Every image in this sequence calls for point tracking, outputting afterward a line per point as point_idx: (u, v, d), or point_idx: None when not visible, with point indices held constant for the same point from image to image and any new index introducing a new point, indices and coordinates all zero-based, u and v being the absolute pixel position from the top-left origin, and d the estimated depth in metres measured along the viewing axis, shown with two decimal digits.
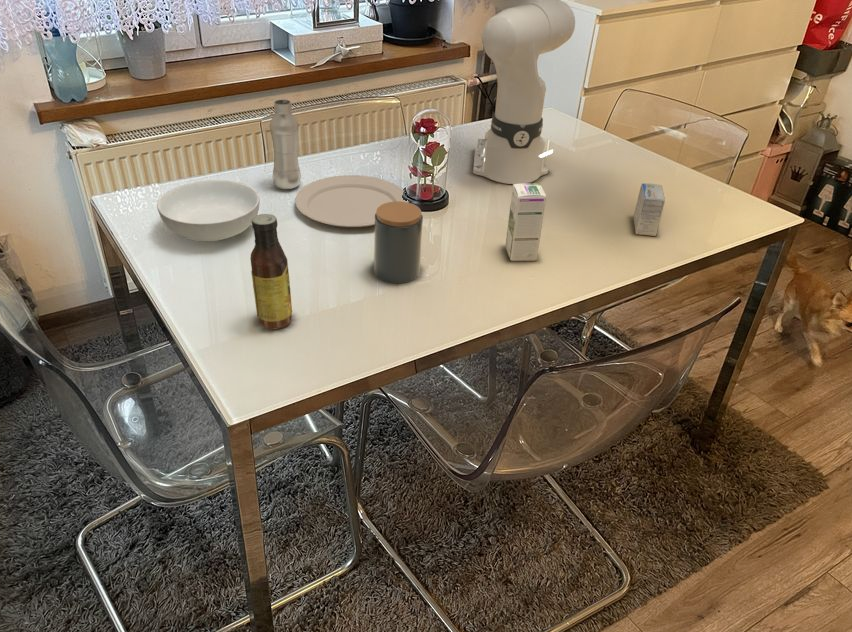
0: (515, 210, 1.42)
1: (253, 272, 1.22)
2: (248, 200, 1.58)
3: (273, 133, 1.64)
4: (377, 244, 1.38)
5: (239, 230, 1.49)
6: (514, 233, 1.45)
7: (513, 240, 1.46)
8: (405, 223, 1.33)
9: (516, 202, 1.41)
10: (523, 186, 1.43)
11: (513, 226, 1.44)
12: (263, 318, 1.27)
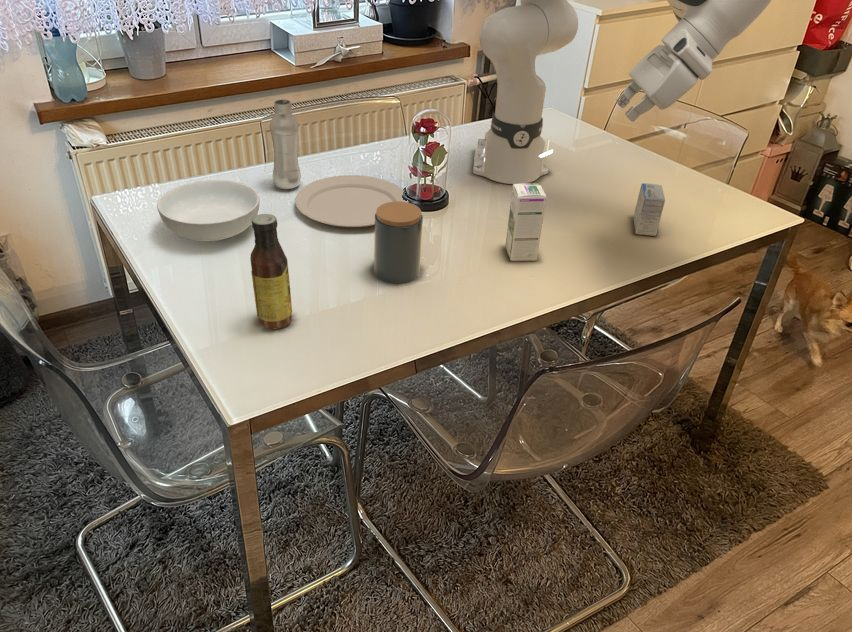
0: (515, 210, 1.42)
1: (253, 272, 1.22)
2: (248, 200, 1.58)
3: (273, 133, 1.64)
4: (377, 244, 1.38)
5: (239, 230, 1.49)
6: (514, 233, 1.45)
7: (513, 240, 1.46)
8: (405, 223, 1.33)
9: (516, 202, 1.41)
10: (523, 186, 1.43)
11: (513, 226, 1.44)
12: (263, 318, 1.27)
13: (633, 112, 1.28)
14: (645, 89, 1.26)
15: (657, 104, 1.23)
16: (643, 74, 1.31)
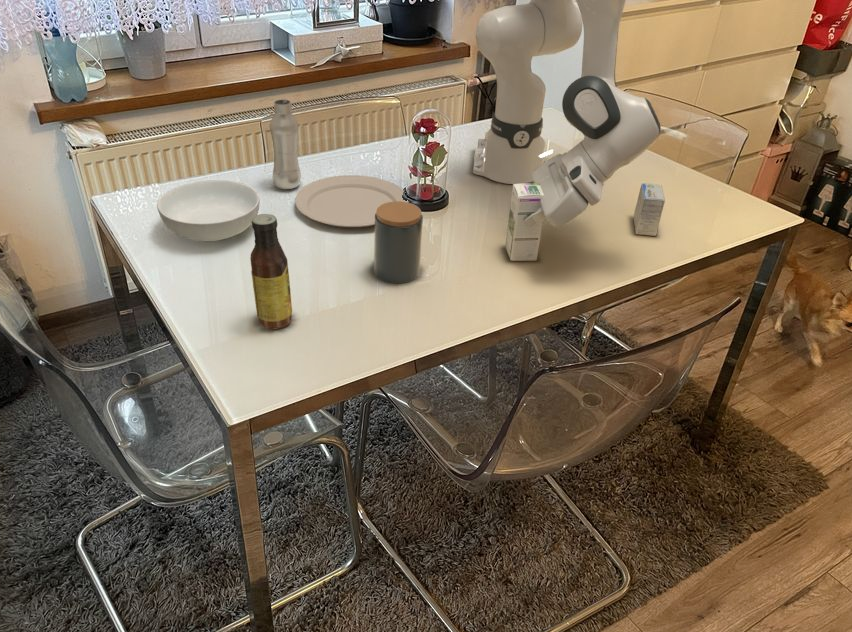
0: (515, 210, 1.42)
1: (253, 272, 1.22)
2: (248, 200, 1.58)
3: (273, 133, 1.64)
4: (377, 244, 1.38)
5: (239, 230, 1.49)
6: (514, 233, 1.45)
7: (513, 240, 1.46)
8: (405, 223, 1.33)
9: (516, 202, 1.41)
10: (523, 186, 1.43)
11: (513, 226, 1.44)
12: (263, 318, 1.27)
13: (530, 220, 1.41)
14: (542, 204, 1.38)
15: (551, 223, 1.36)
16: (543, 185, 1.43)
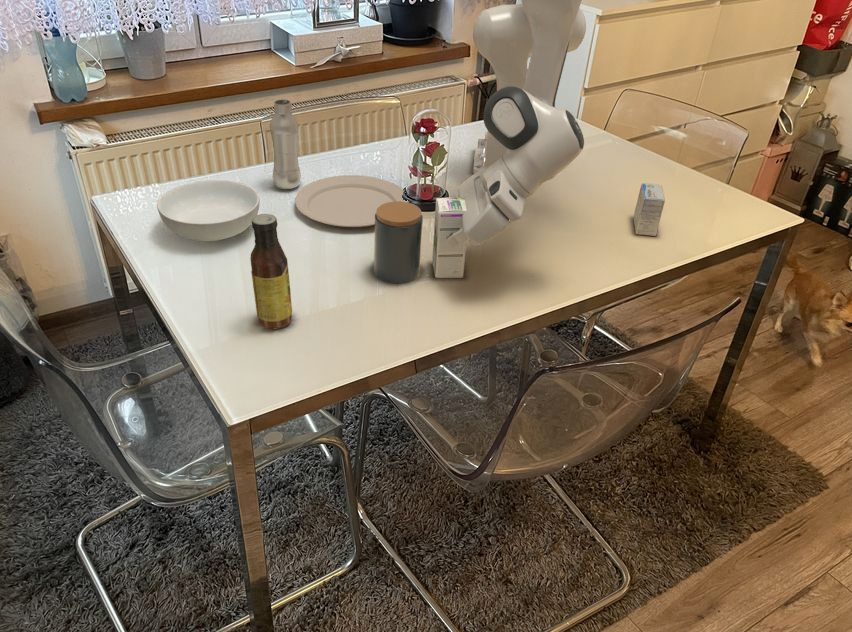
0: (437, 226, 1.36)
1: (253, 272, 1.22)
2: (248, 200, 1.58)
3: (273, 133, 1.64)
4: (377, 244, 1.38)
5: (239, 230, 1.49)
6: (437, 249, 1.39)
7: (437, 256, 1.40)
8: (405, 223, 1.33)
9: (437, 217, 1.35)
10: (446, 200, 1.37)
11: (436, 242, 1.39)
12: (263, 318, 1.27)
13: (452, 239, 1.35)
14: (463, 221, 1.33)
15: (471, 240, 1.30)
16: (466, 200, 1.37)
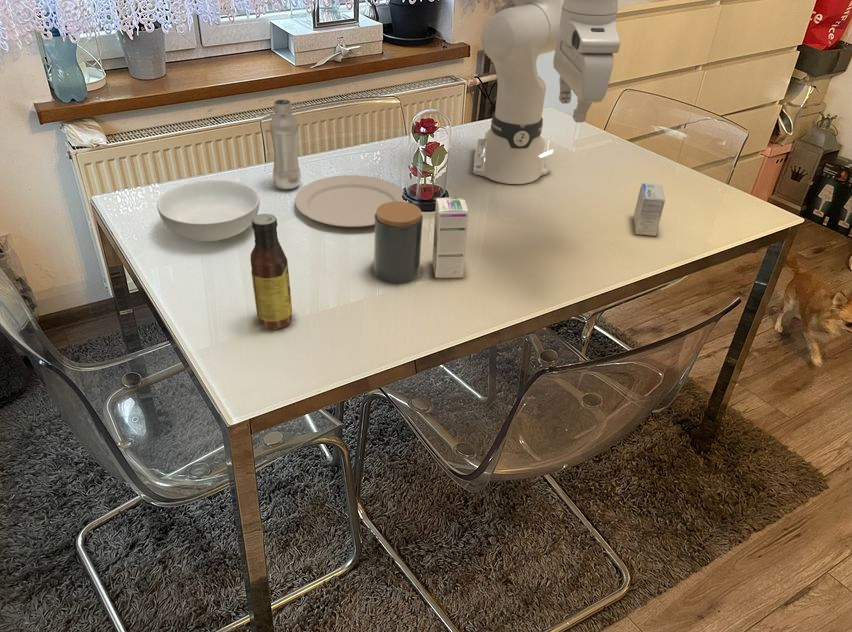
0: (437, 226, 1.36)
1: (253, 272, 1.22)
2: (248, 200, 1.58)
3: (273, 133, 1.64)
4: (377, 244, 1.38)
5: (239, 230, 1.49)
6: (437, 249, 1.39)
7: (437, 256, 1.40)
8: (405, 223, 1.33)
9: (437, 217, 1.35)
10: (446, 200, 1.37)
11: (436, 242, 1.39)
12: (263, 318, 1.27)
13: (579, 115, 1.24)
14: (574, 91, 1.22)
15: (593, 102, 1.18)
16: (565, 71, 1.26)
